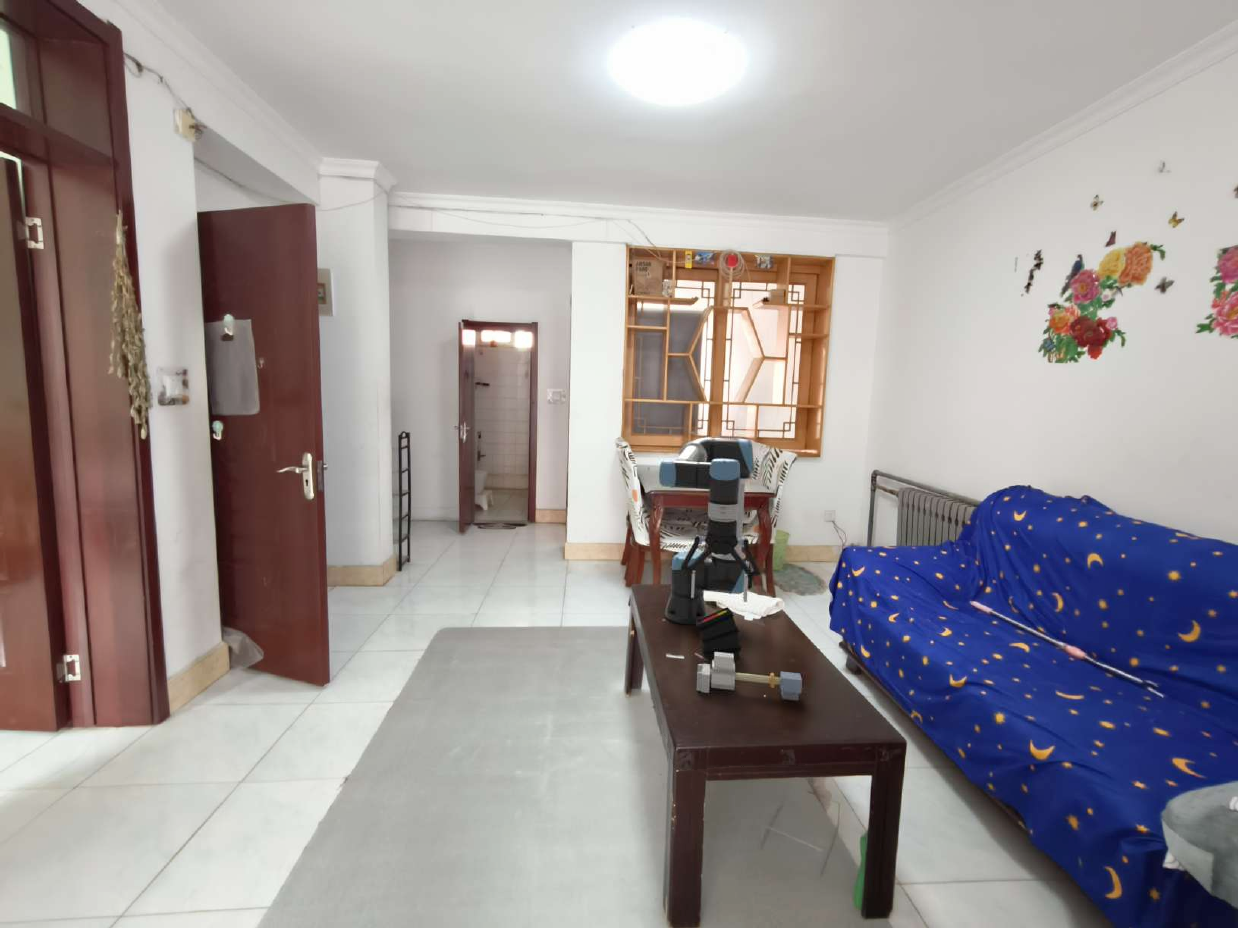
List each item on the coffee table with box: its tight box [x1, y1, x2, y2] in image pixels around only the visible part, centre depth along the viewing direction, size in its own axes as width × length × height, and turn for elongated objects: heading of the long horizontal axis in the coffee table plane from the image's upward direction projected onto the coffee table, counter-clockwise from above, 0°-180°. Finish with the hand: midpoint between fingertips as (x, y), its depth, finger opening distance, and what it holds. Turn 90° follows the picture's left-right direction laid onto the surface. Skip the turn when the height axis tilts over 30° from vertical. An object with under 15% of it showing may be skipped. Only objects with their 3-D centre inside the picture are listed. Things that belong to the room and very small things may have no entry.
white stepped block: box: [710, 652, 736, 691], centre depth 145 cm, size 5×6×8 cm
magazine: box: [695, 607, 742, 659], centre depth 164 cm, size 4×13×15 cm, turn 92°
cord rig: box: [696, 663, 803, 702], centre depth 144 cm, size 6×27×6 cm, turn 80°
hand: (718, 598), depth 143 cm, fingers open, 13 cm apart
